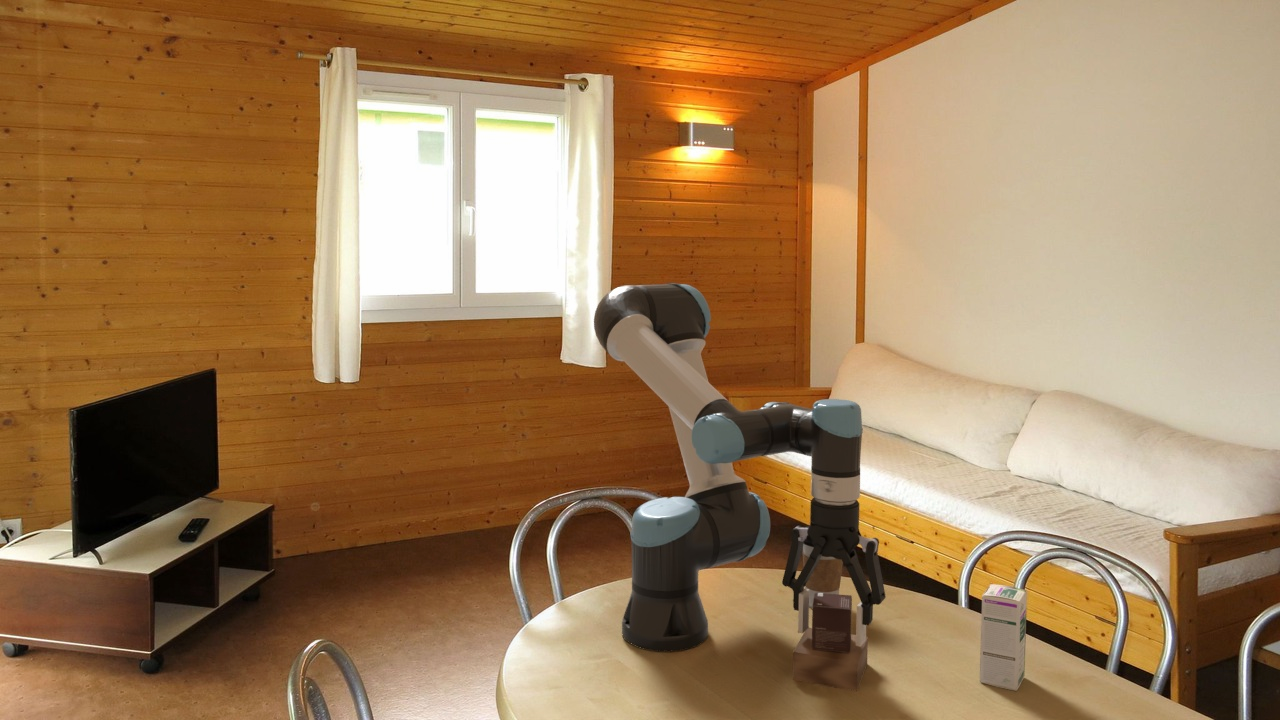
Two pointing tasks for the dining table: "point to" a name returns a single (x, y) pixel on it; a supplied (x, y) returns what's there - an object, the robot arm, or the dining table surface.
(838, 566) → the coffee cup
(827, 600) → the box
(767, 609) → the dining table surface
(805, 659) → the walnut block
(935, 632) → the dining table surface
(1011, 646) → the syrup box
